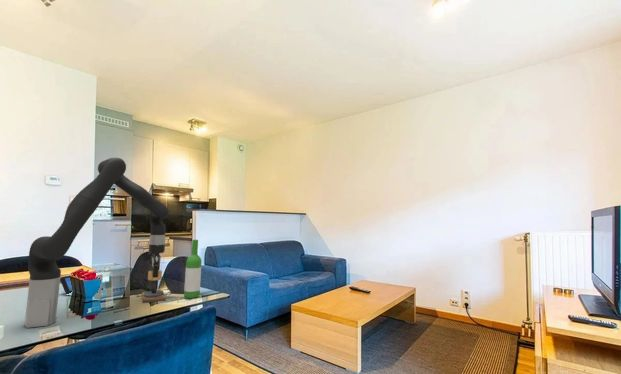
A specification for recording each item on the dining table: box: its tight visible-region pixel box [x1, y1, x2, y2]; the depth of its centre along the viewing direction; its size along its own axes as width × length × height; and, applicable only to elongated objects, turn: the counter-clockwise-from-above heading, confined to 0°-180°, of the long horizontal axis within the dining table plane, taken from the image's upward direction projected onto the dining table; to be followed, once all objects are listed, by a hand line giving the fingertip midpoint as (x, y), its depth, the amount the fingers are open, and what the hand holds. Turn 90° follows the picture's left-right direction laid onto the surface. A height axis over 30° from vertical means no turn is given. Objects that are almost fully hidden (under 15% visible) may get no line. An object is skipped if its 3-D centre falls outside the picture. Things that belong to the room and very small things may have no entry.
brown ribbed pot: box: [147, 269, 163, 282], centre depth 160 cm, size 6×6×4 cm
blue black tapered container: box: [60, 275, 104, 295], centre depth 165 cm, size 16×13×9 cm
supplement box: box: [93, 272, 104, 299], centre depth 152 cm, size 7×7×13 cm
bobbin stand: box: [141, 281, 166, 304], centre depth 159 cm, size 16×10×8 cm, turn 29°
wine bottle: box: [183, 239, 202, 299], centre depth 164 cm, size 8×8×30 cm
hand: (154, 275), depth 160 cm, fingers closed on brown ribbed pot, 6 cm apart
